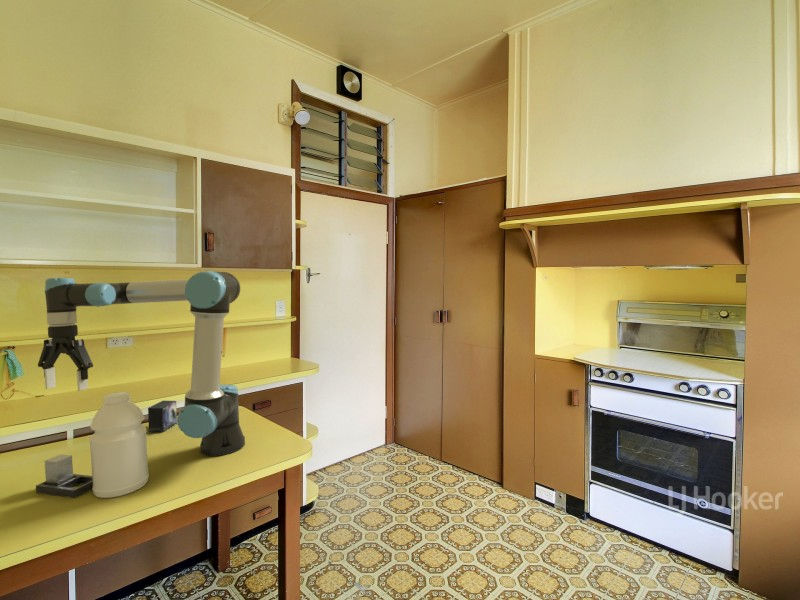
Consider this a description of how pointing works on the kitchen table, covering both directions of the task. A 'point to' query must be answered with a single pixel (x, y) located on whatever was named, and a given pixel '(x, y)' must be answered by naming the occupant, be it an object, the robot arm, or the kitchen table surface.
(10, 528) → the kitchen table surface
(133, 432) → the bottle
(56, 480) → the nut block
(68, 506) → the kitchen table surface
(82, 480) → the divided tray
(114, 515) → the kitchen table surface
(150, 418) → the small box
